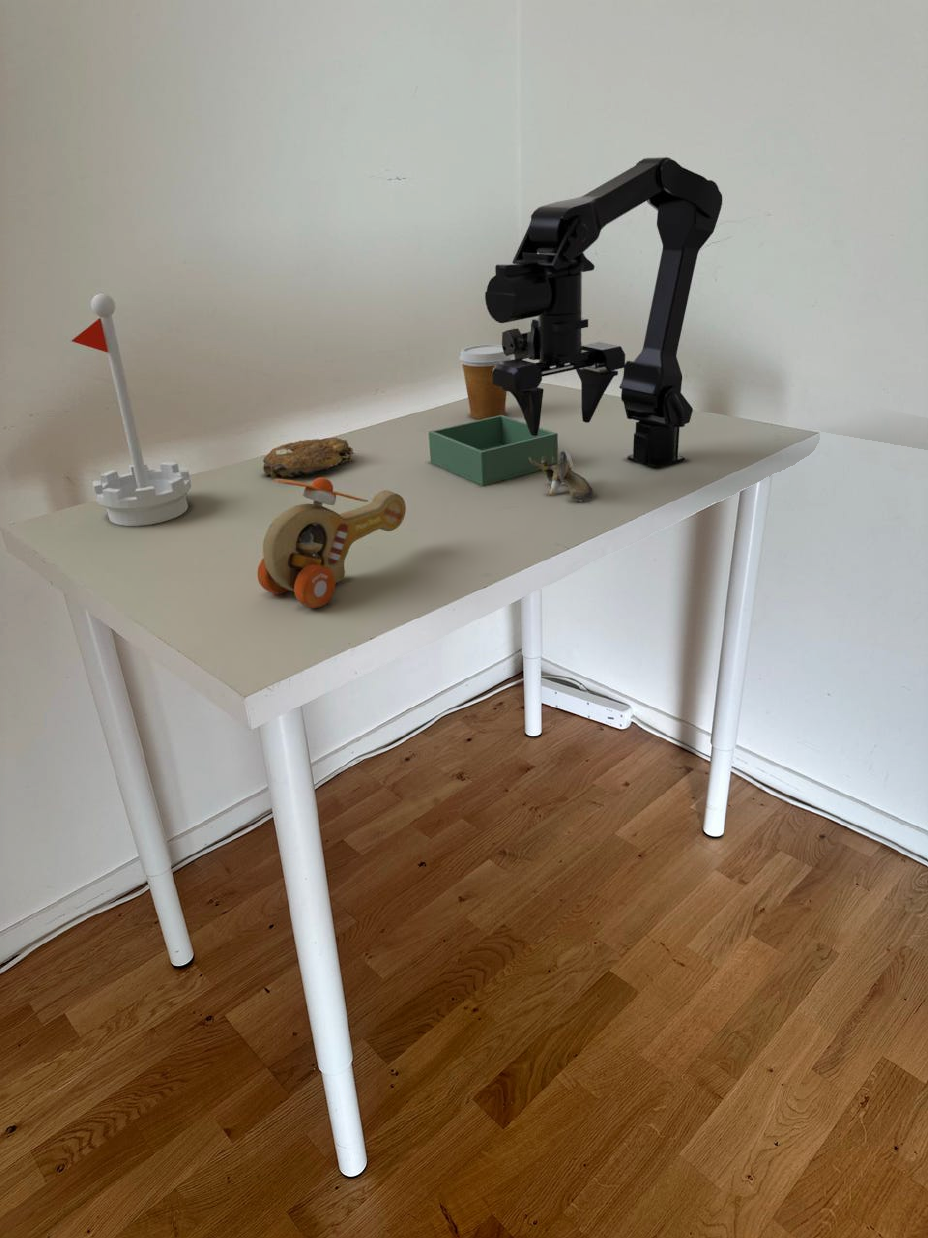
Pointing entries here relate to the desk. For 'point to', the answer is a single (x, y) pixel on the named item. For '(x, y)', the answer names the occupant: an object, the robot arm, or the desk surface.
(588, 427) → the desk surface
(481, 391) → the disposable coffee cup
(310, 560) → the toy helicopter
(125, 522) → the flag stand
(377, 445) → the desk surface
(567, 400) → the desk surface
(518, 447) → the bin
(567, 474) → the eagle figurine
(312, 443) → the decorative rock
